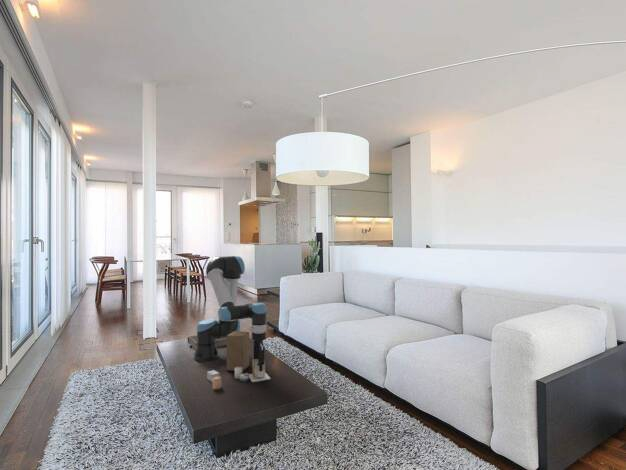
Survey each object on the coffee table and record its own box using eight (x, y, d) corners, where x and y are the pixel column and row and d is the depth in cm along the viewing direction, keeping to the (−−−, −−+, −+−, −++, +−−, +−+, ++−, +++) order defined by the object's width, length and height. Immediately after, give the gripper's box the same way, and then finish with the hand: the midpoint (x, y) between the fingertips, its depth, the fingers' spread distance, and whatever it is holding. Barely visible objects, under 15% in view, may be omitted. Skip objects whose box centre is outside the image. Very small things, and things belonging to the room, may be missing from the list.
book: (195, 351, 243) (195, 344, 243) (187, 343, 262) (187, 336, 262) (238, 344, 259) (238, 337, 260) (228, 337, 278) (228, 330, 278)
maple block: (252, 374, 197) (252, 359, 197) (262, 372, 199) (262, 358, 199) (255, 377, 192) (255, 362, 192) (265, 376, 194) (265, 361, 194)
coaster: (247, 375, 198) (247, 374, 198) (264, 372, 202) (264, 371, 202) (252, 382, 189) (252, 381, 189) (270, 379, 193) (270, 378, 193)
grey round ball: (238, 379, 194) (238, 373, 194) (247, 377, 196) (247, 372, 196) (240, 382, 189) (240, 376, 189) (249, 380, 191) (250, 375, 191)
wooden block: (242, 371, 204) (242, 336, 204) (226, 370, 206) (226, 335, 207) (249, 365, 214) (249, 331, 214) (233, 364, 216) (233, 331, 216)
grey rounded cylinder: (233, 376, 197) (233, 367, 197) (241, 375, 199) (241, 366, 199) (235, 379, 193) (235, 369, 194) (242, 377, 195) (242, 368, 195)
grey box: (207, 379, 193) (207, 371, 194) (214, 377, 196) (214, 370, 196) (212, 382, 189) (212, 374, 189) (219, 380, 192) (219, 373, 192)
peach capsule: (211, 387, 182) (211, 377, 182) (219, 385, 185) (219, 375, 185) (214, 390, 179) (213, 380, 179) (222, 388, 181) (222, 378, 181)
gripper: (247, 328, 203) (247, 370, 203) (256, 336, 186) (256, 382, 186) (260, 327, 206) (260, 368, 206) (270, 335, 189) (270, 379, 189)
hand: (258, 374), depth 196 cm, fingers closed on maple block, 5 cm apart
